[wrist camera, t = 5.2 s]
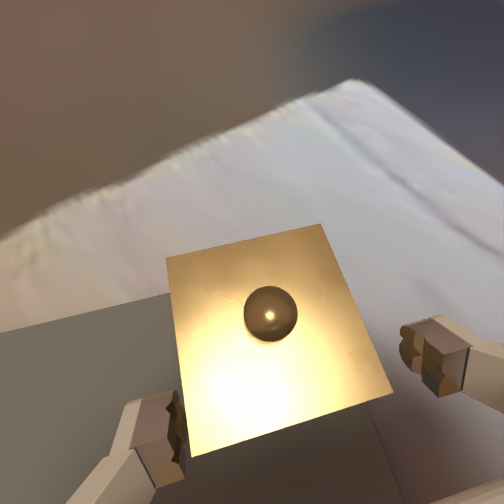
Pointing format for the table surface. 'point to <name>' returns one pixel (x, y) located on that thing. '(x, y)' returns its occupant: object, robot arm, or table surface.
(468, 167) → the table surface
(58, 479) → the charcoal mat
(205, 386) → the brass knob block
